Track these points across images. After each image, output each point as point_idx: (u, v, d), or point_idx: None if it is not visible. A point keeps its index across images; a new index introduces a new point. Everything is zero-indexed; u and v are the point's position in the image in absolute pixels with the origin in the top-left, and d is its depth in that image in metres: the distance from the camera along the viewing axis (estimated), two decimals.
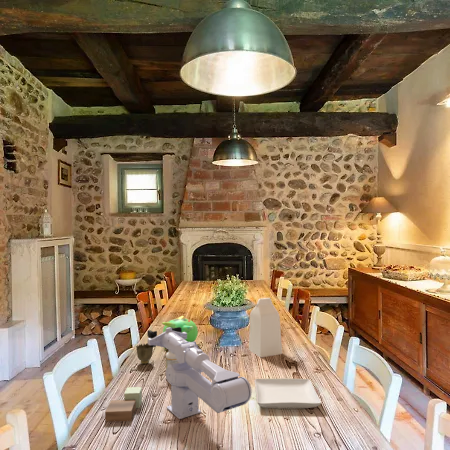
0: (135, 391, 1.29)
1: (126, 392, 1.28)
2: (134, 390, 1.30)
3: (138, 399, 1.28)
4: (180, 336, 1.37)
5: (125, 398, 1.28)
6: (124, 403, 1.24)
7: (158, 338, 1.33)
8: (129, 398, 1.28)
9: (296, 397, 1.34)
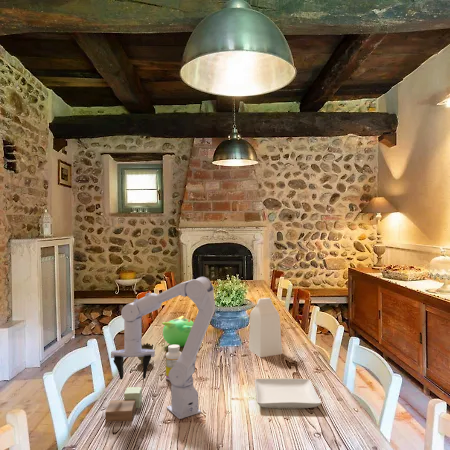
0: (135, 391, 1.29)
1: (126, 392, 1.28)
2: (134, 390, 1.30)
3: (138, 399, 1.28)
4: (146, 350, 1.31)
5: (125, 398, 1.28)
6: (124, 403, 1.24)
7: None
8: (129, 398, 1.28)
9: (296, 397, 1.34)
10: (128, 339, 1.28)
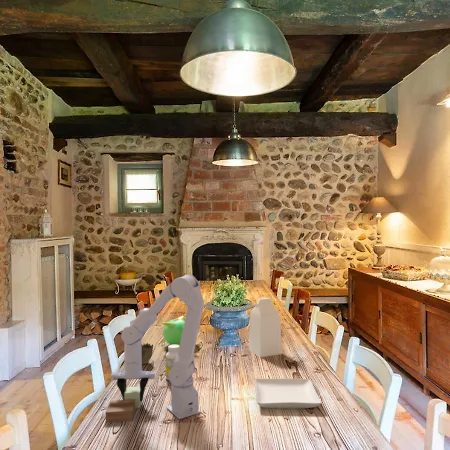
0: (135, 391, 1.29)
1: (126, 392, 1.28)
2: (134, 389, 1.30)
3: (138, 399, 1.28)
4: (146, 372, 1.31)
5: (125, 398, 1.28)
6: (124, 403, 1.24)
7: None
8: (129, 398, 1.28)
9: (296, 397, 1.34)
10: (128, 362, 1.28)
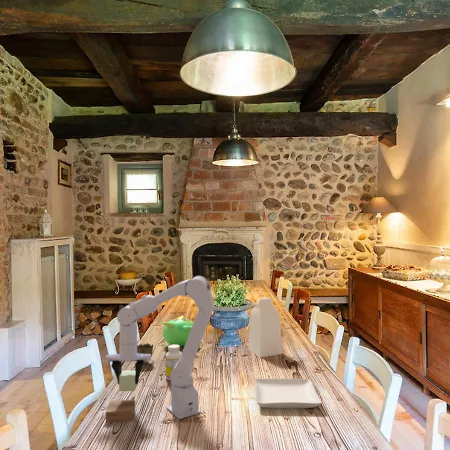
0: (130, 374, 1.27)
1: (121, 375, 1.26)
2: (129, 373, 1.28)
3: (133, 382, 1.25)
4: (142, 354, 1.28)
5: (120, 381, 1.25)
6: (124, 403, 1.24)
7: (117, 356, 1.28)
8: (124, 381, 1.25)
9: (296, 397, 1.34)
10: (124, 343, 1.25)
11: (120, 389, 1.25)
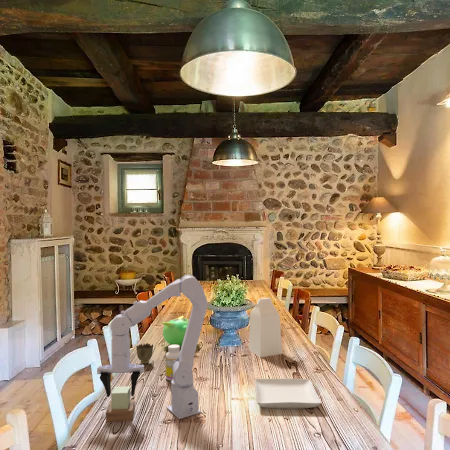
0: (123, 391, 1.22)
1: (113, 392, 1.21)
2: (122, 389, 1.23)
3: (126, 399, 1.21)
4: (135, 365, 1.23)
5: (112, 398, 1.20)
6: None
7: None
8: (116, 398, 1.20)
9: (296, 397, 1.34)
10: (119, 354, 1.20)
11: (112, 407, 1.20)
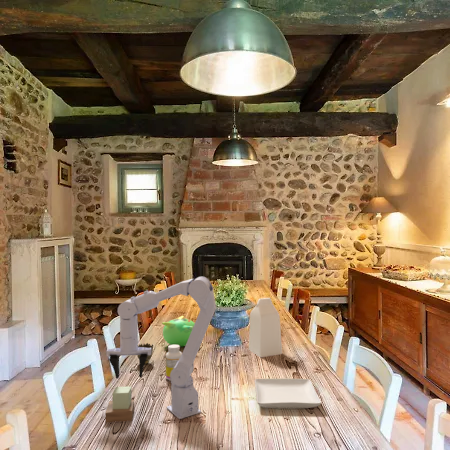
0: (124, 391, 1.22)
1: (114, 392, 1.21)
2: (123, 389, 1.23)
3: (127, 399, 1.21)
4: (142, 348, 1.29)
5: (113, 398, 1.20)
6: None
7: (118, 350, 1.28)
8: (117, 398, 1.20)
9: (296, 397, 1.33)
10: (125, 337, 1.25)
11: (113, 407, 1.20)
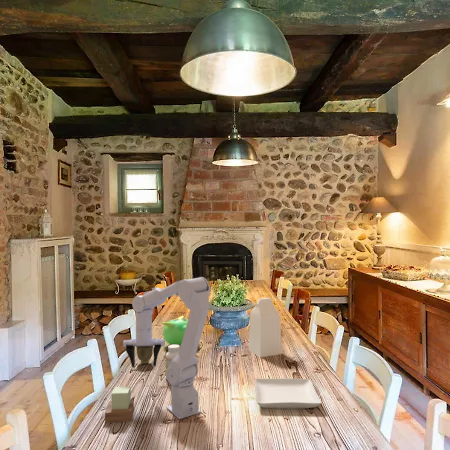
0: (123, 391, 1.22)
1: (114, 392, 1.21)
2: (122, 390, 1.23)
3: (126, 399, 1.20)
4: (156, 339, 1.39)
5: (112, 398, 1.20)
6: None
7: None
8: (117, 398, 1.20)
9: (296, 397, 1.33)
10: (137, 329, 1.36)
11: (112, 407, 1.20)
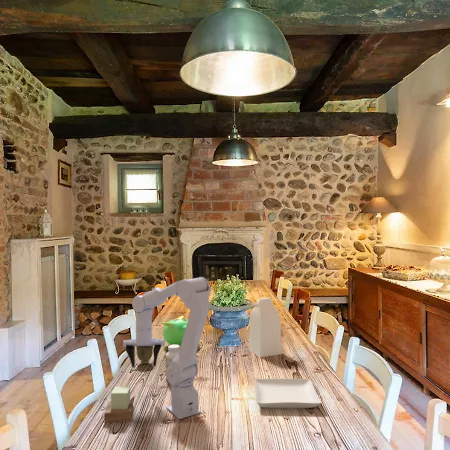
0: (123, 391, 1.22)
1: (113, 392, 1.21)
2: (122, 390, 1.23)
3: (126, 399, 1.20)
4: (156, 339, 1.39)
5: (112, 398, 1.20)
6: None
7: None
8: (116, 398, 1.20)
9: (296, 397, 1.33)
10: (137, 329, 1.36)
11: (112, 407, 1.20)
